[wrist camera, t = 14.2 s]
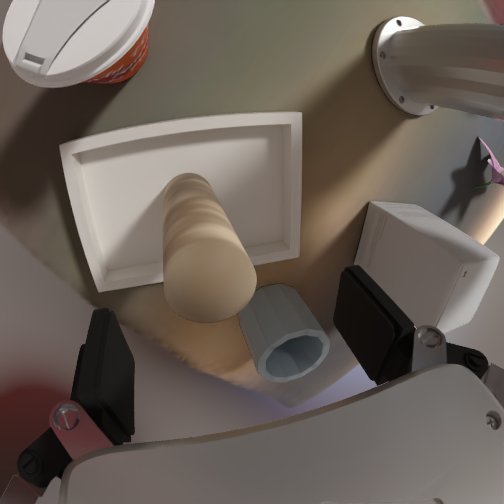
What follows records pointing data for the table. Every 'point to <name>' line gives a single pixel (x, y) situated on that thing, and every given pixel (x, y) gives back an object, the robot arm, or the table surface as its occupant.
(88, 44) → the paper cup
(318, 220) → the table surface
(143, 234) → the tray
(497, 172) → the lily
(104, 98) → the table surface
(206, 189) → the dowel
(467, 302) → the supplement box
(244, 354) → the table surface
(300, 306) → the cup
